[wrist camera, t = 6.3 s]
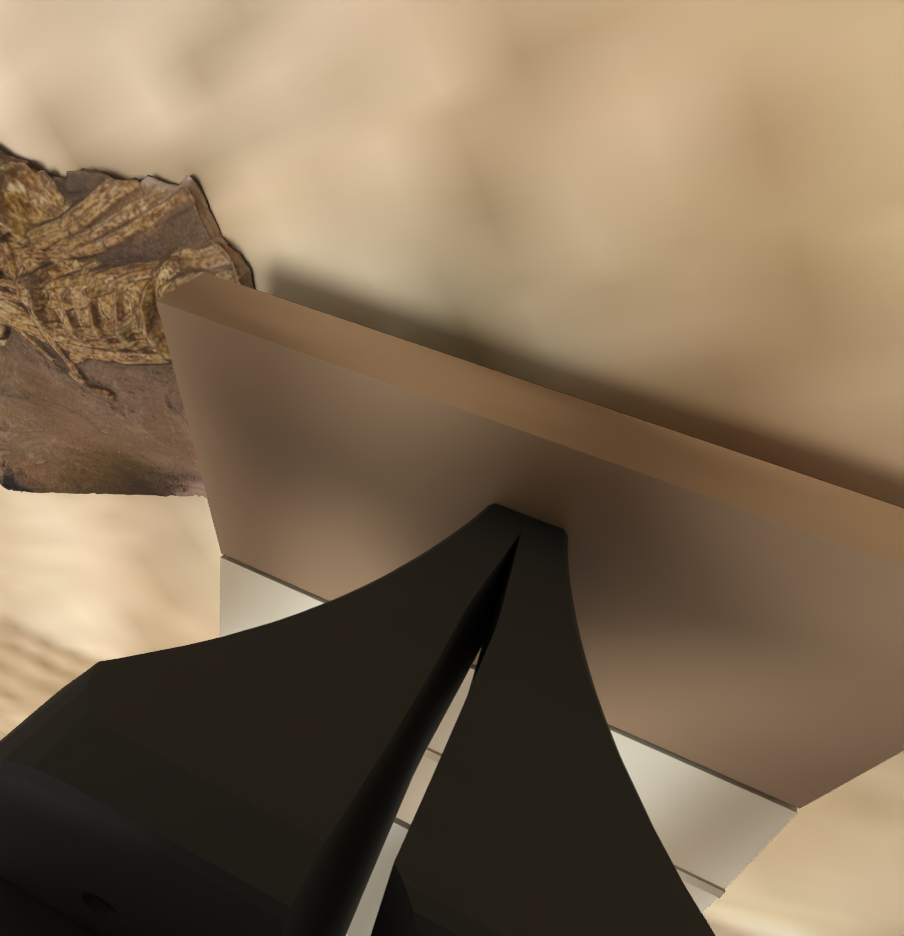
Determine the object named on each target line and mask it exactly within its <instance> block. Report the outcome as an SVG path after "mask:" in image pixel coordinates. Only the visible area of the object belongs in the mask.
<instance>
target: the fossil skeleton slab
mask: <svg viewBox="0 0 904 936" xmlns="http://www.w3.org/2000/svg"><path fill="white" fill-rule="evenodd" d="M227 244H229V243H228V242H227V241H226V240H225V239H224V238H223V237H222V236H221V234H220V231H219V229H218V226H217V224H216V222H215V220H214V218H213V216H212V214H211V213H210V211H209V209H208V204H207V201H206V199H205V197H204V196H203V194H202V190H201V187H200V186H199V185H198V184H197V183H196V182H195V181H194V180H193V179H192V178H191V177H190V176H189V175H187V176H186V177H185V178H184V179H183V181H182V182H181V183H180V184H179V185H177V184H173V183H168V182H164V181H161V180H159V179H157V178H154V176H150V175H147V176H146V177H145V178H144V179H143V180H142V181H141V180H139V179H137V178H132V179H127V180H118V179H115V178H114V177H113V176H111V175H108V174H105V173H103V172H100V171H97V170H88V169H85V168H82V169H80V170H79V171H67V175H66V178H63V177H54V176H52V175H51V174H49V173H48V172H47V171H45V170H40V171H38V170H37V169H36V167H35V166H34V164H33V163H32V162H31V161H30V160H23V159H19V158H16V157H13V156H11V155H8V154H6V153H5V152H4V151H3V150H1V149H0V484H1V485H2V486H3V487H4V488H6V489H8V490H11V489H12V490H13V491H21V492H22V491H26V492H32V493H49V492H55V493H74V494H90V493H96V494H126V495H158V496H165V497H166V496H169V495H175V496H193V495H196V494H197V495H198V497H199V496H202V495H203V496H204V497H207V496H206V492H205V488H204V484H203V480H202V476H201V472H200V468H199V465H198V461H197V457H196V453H195V449H194V445H193V441H192V438H191V434H190V430H189V426H188V422H187V418H186V414H185V411H184V407H183V403H182V399H181V395H180V391H179V387H178V383H177V380H176V376H175V372H174V368H173V364H172V360H171V356H170V353H169V349H168V345H167V341H166V337H165V333H164V329H163V325H162V322H161V318H160V314H159V310H158V306H157V302H156V301H157V300H159V299H160V298H162V297H164V296H165V295H167V294H169V293H170V292H172V291H174V290H175V289H177V288H179V287H180V286H182V285H184V284H185V283H187V282H189V281H190V280H192V279H194V278H195V277H197V276H199V275H200V274H202V273H204V272H205V273H208V274H211V275H213V276H216V277H219V278H222V279H225V280H228V281H231V282H234V283H237V284H240V285H243V286H246V287H249V288H252V289H254V287H253V282H252V277H251V269H250V268H249V267H248V266H247V265H246V264H245V262H244V260H243V259H242V257H241V255H240V254H239V253H238V252H237V251H235V250H233V249H231V248H230V247H229V246H228V245H227Z"/></svg>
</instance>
